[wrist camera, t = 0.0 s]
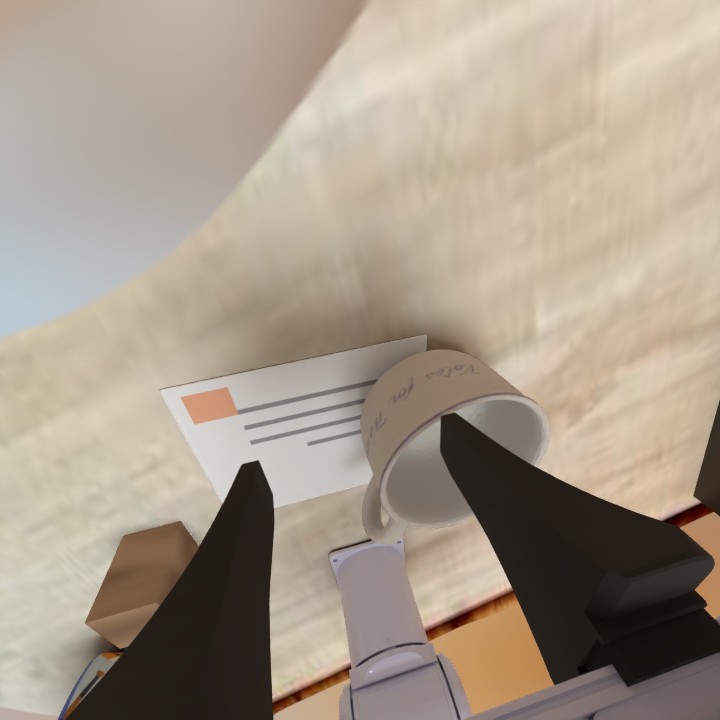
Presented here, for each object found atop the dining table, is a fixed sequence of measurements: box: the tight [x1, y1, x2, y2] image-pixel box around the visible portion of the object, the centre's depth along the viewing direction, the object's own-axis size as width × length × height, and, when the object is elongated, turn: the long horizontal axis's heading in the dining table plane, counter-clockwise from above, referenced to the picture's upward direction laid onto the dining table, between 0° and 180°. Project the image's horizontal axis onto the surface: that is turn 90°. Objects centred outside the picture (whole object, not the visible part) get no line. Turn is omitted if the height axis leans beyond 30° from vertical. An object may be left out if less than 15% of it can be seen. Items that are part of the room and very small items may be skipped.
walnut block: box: [85, 521, 199, 649], centre depth 25 cm, size 4×4×6 cm
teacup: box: [360, 350, 550, 545], centre depth 22 cm, size 14×11×8 cm
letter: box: [159, 334, 427, 508], centre depth 25 cm, size 14×18×1 cm
